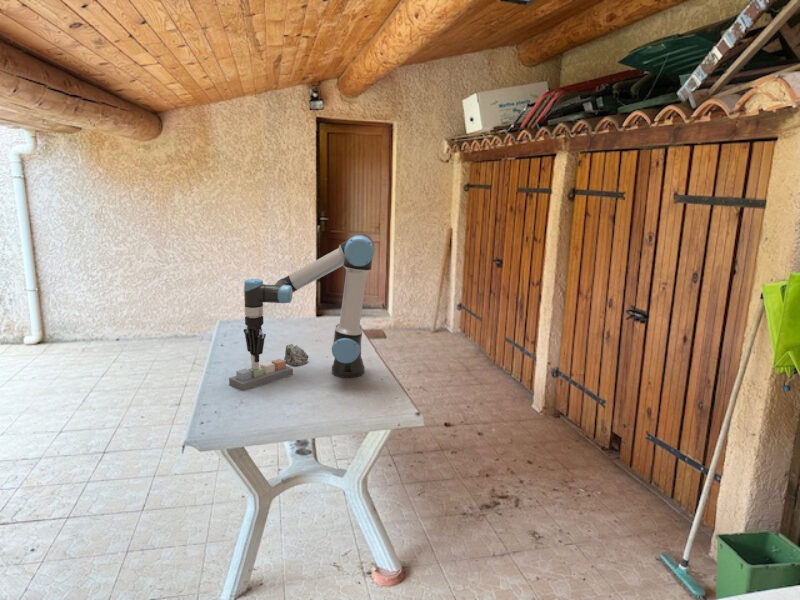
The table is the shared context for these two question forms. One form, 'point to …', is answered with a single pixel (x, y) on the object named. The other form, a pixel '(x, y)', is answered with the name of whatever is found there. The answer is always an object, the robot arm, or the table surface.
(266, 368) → the key cream
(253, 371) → the key sage
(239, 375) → the key slate
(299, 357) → the rock
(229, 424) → the table surface
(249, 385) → the grey socket tray
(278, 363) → the key terracotta
